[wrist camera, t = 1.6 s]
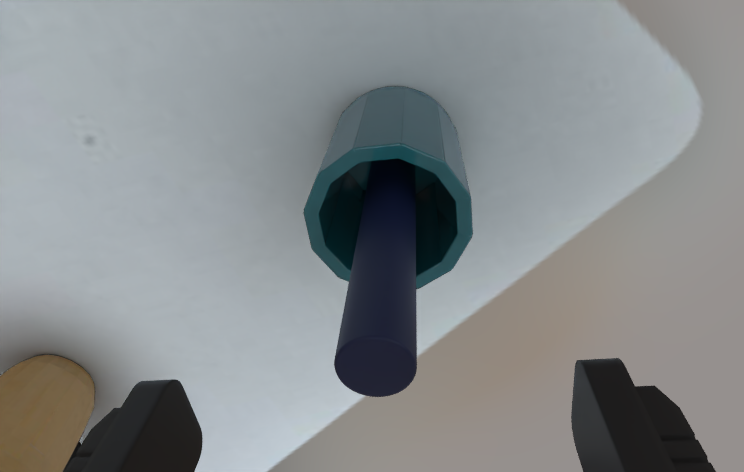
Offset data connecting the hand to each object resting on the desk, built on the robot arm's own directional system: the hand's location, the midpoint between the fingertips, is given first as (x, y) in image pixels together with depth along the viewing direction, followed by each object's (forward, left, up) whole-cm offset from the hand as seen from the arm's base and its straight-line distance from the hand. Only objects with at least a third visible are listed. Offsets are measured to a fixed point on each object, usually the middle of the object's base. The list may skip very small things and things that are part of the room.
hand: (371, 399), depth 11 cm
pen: (0, 0, -14) cm, 14 cm away
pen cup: (0, 0, -14) cm, 14 cm away
